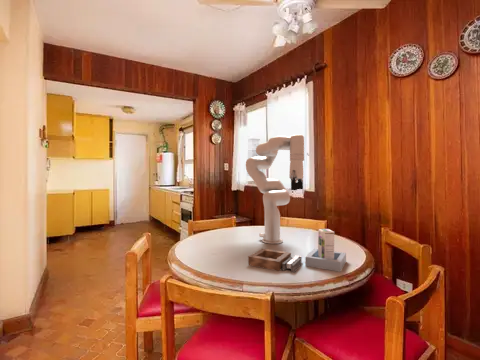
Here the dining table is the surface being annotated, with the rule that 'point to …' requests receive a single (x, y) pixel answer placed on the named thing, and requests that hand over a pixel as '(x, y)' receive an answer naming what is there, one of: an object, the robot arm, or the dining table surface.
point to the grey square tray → (326, 261)
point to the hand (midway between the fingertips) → (297, 189)
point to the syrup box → (326, 244)
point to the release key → (293, 261)
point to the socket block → (273, 260)
